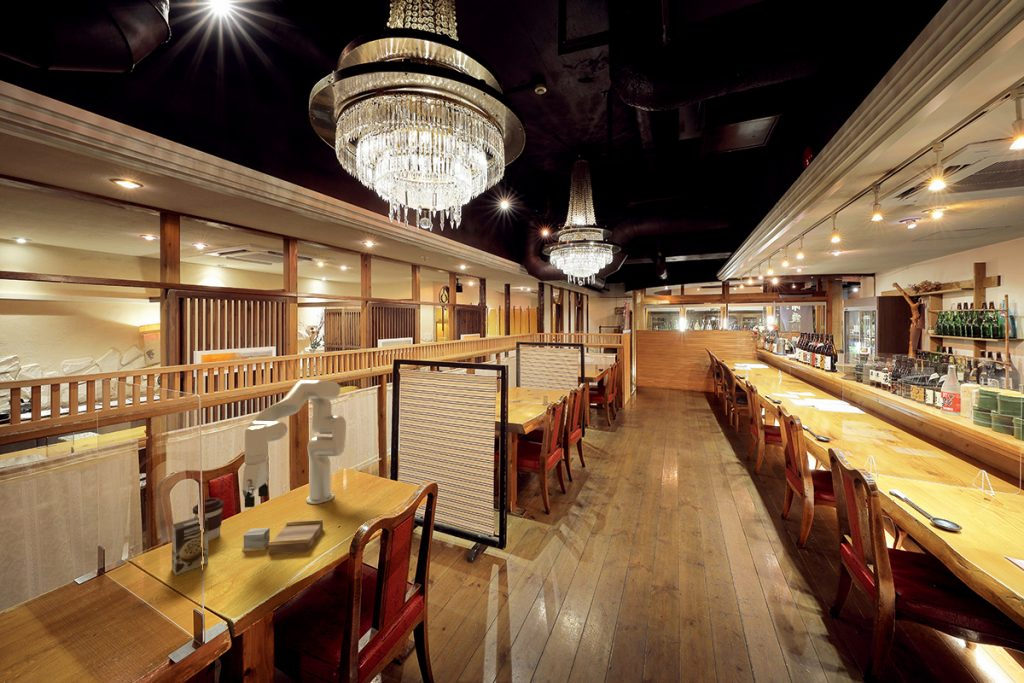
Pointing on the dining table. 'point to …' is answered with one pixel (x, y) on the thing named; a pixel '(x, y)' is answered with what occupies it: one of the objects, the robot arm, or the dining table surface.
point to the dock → (296, 536)
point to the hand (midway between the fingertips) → (256, 501)
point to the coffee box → (188, 545)
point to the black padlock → (256, 539)
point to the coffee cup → (212, 516)
